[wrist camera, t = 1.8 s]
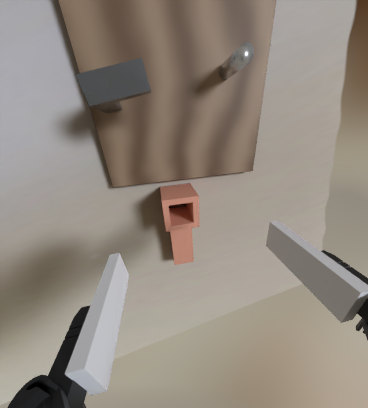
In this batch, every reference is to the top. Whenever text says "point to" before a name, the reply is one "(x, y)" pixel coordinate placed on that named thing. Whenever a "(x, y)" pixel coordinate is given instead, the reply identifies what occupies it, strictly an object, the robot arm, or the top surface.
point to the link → (180, 219)
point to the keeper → (114, 84)
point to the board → (176, 83)
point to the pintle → (237, 61)
